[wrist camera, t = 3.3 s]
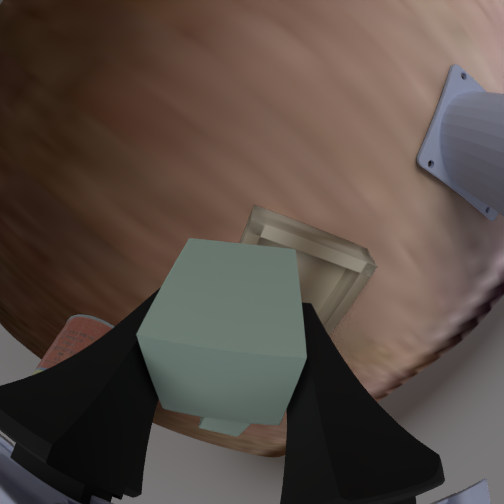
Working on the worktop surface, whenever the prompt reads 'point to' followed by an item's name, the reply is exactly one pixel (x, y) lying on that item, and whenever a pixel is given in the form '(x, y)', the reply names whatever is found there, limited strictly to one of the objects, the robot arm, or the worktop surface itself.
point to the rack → (315, 262)
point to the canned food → (73, 339)
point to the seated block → (223, 426)
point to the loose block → (227, 332)
